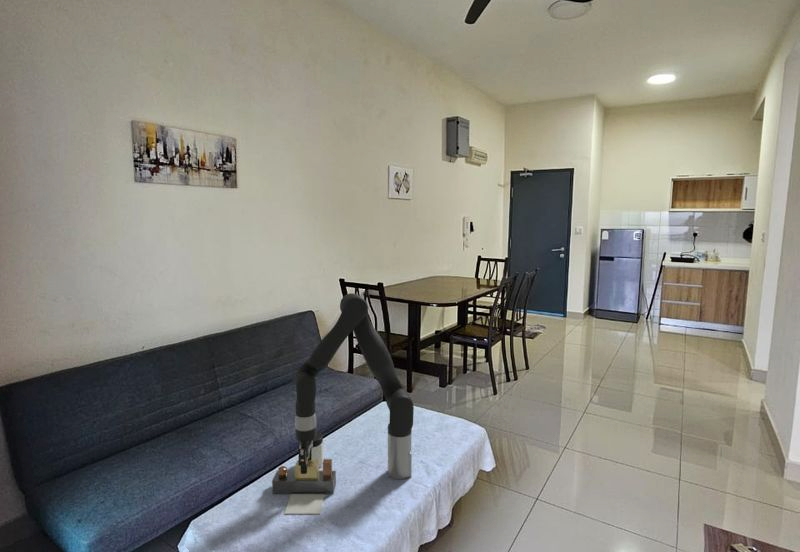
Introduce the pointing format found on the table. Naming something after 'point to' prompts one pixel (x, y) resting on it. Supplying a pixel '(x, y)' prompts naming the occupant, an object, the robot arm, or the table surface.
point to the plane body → (305, 481)
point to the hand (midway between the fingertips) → (306, 466)
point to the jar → (318, 448)
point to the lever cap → (311, 470)
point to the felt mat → (305, 504)
